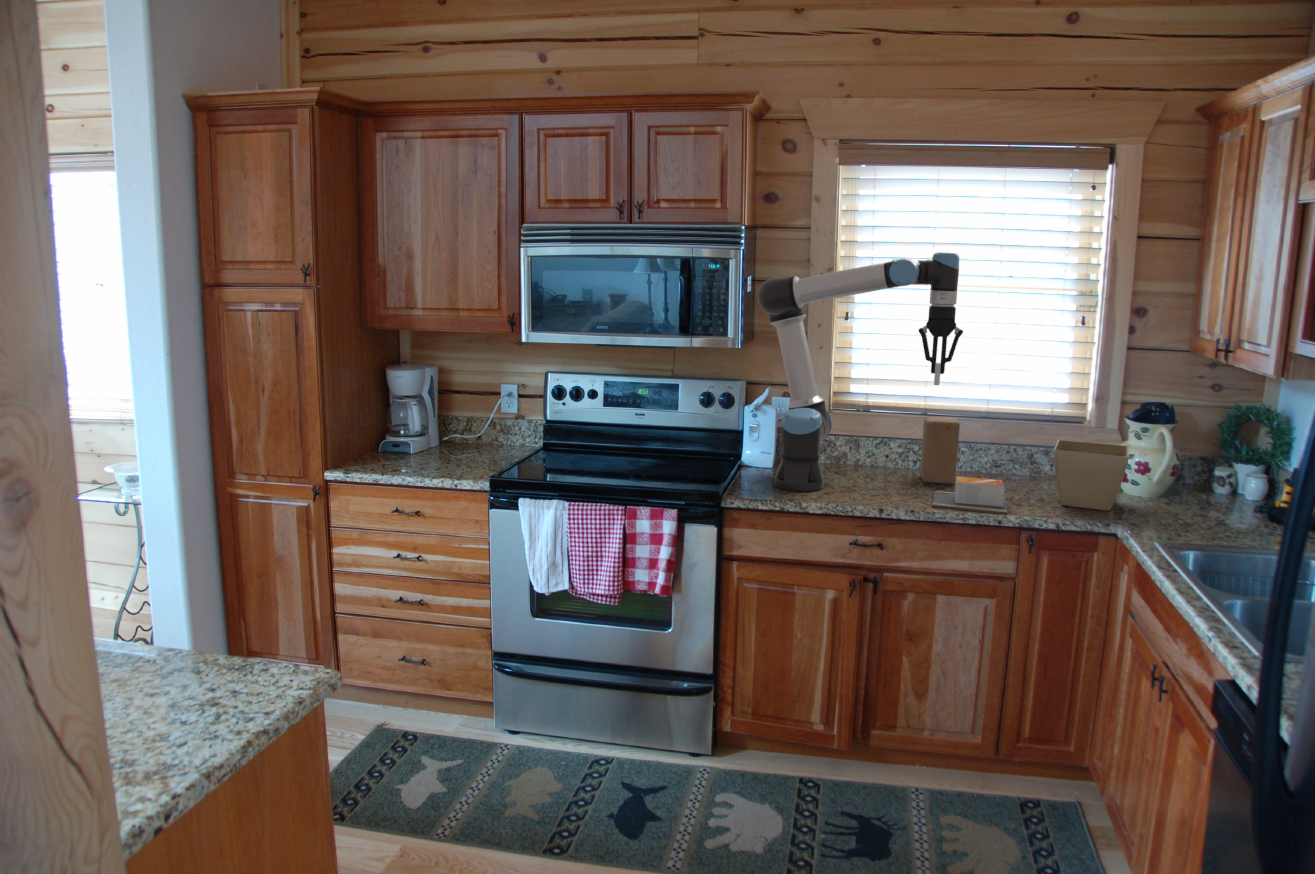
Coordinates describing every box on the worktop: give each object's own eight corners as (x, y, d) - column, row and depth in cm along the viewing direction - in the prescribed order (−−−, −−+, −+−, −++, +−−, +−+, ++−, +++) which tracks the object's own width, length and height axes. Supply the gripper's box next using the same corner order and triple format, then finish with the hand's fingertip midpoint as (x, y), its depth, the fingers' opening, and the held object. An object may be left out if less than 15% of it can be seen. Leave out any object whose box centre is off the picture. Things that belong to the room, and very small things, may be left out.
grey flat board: (931, 507, 253) (932, 503, 253) (934, 493, 268) (934, 490, 268) (1007, 514, 247) (1007, 511, 247) (1005, 500, 261) (1005, 497, 261)
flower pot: (1052, 492, 272) (1058, 438, 268) (1122, 500, 263) (1129, 444, 260) (1047, 507, 255) (1053, 449, 252) (1122, 516, 246) (1129, 457, 243)
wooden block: (955, 485, 279) (960, 422, 275) (922, 483, 281) (926, 420, 277) (951, 477, 288) (956, 417, 285) (919, 475, 290) (924, 415, 287)
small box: (955, 475, 261) (1002, 479, 258) (953, 496, 263) (1000, 500, 259) (956, 482, 254) (1005, 486, 250) (954, 503, 255) (1003, 507, 251)
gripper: (919, 305, 262) (913, 384, 266) (965, 306, 257) (959, 387, 262) (920, 304, 269) (915, 381, 273) (966, 305, 264) (959, 384, 269)
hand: (936, 384), depth 268 cm, fingers closed
